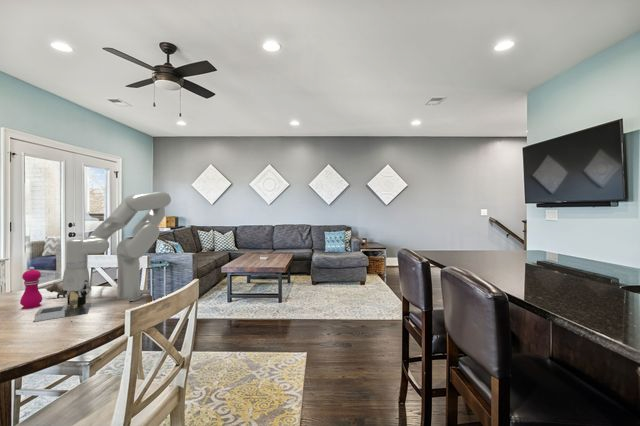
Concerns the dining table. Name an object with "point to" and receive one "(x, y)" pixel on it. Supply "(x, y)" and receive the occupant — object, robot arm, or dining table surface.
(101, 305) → the dining table surface
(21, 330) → the dining table surface
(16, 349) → the dining table surface
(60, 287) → the rhinoceros figurine
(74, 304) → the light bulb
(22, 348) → the dining table surface
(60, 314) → the plate
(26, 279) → the pepper mill
